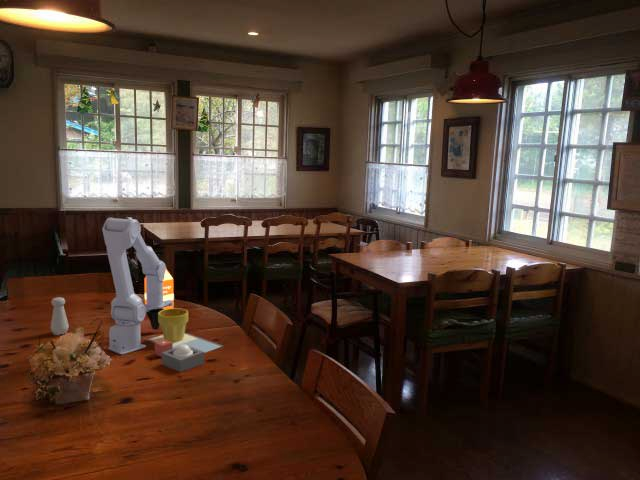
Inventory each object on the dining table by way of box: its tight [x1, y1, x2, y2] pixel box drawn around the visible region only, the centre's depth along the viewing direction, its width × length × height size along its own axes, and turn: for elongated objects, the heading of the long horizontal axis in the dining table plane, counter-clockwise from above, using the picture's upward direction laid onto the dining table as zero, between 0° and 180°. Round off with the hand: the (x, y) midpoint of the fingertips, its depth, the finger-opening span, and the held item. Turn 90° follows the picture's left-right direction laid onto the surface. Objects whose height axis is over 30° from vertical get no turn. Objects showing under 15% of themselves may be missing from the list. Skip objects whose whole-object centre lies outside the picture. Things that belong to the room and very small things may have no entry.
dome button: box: [173, 344, 193, 358], centre depth 167 cm, size 6×6×5 cm
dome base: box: [161, 346, 205, 373], centre depth 167 cm, size 9×9×4 cm
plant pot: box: [158, 307, 189, 342], centre depth 188 cm, size 10×10×10 cm
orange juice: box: [143, 268, 175, 310], centre depth 215 cm, size 8×9×20 cm
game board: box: [146, 332, 224, 354], centre depth 185 cm, size 14×24×1 cm, turn 53°
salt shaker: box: [50, 296, 70, 336], centre depth 189 cm, size 6×6×13 cm
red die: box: [154, 340, 173, 358], centre depth 174 cm, size 4×4×4 cm
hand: (155, 328), depth 194 cm, fingers closed
